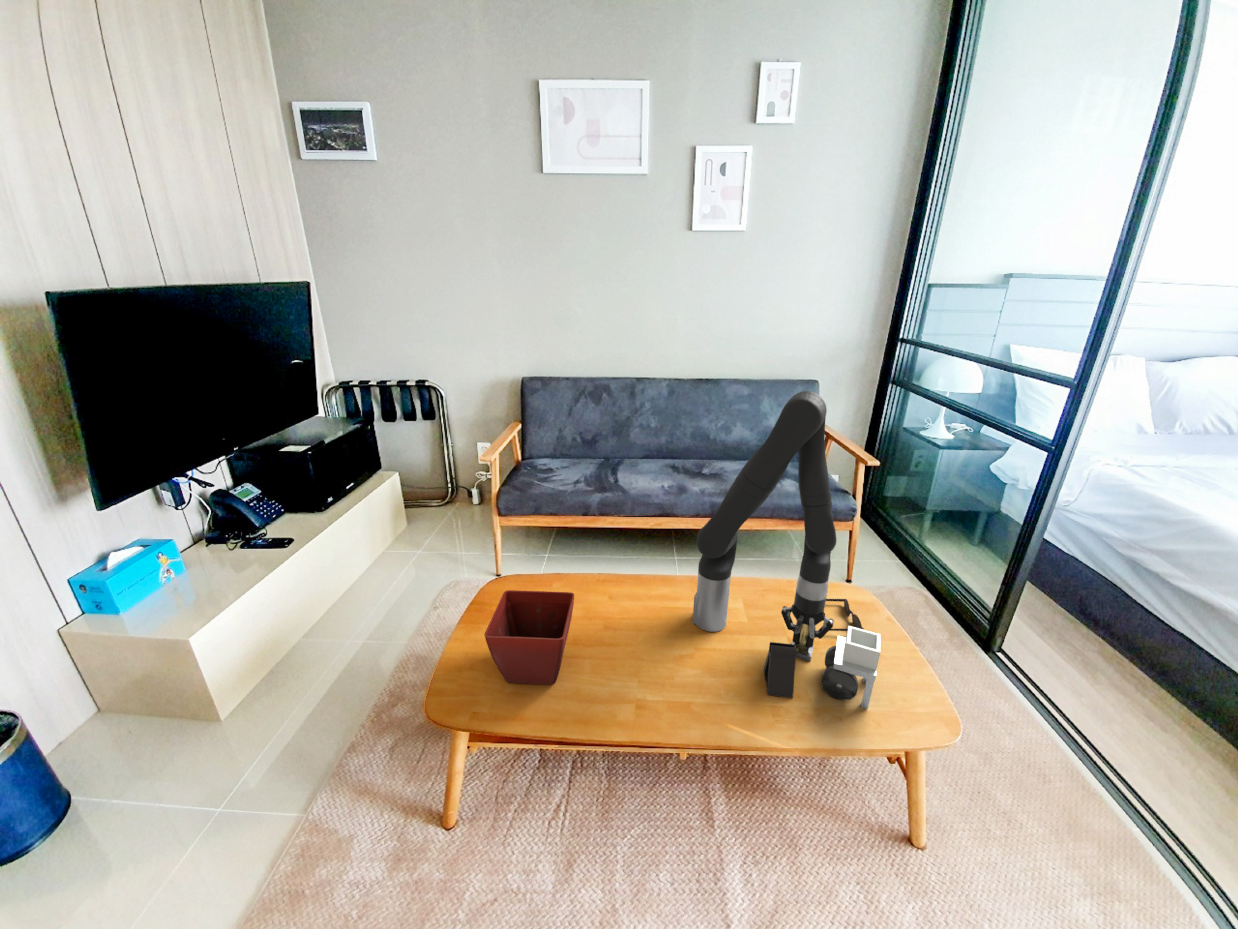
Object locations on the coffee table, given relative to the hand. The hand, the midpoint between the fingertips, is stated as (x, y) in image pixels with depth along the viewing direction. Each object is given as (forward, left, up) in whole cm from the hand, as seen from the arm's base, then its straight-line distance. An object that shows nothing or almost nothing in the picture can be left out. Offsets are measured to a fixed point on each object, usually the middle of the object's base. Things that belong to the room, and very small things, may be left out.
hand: (802, 644), depth 138 cm
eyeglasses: (+5, +18, -3) cm, 19 cm away
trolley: (+10, -8, -3) cm, 13 cm away
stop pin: (0, 0, -3) cm, 3 cm away
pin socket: (0, 0, -3) cm, 3 cm away
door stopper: (-4, -15, -3) cm, 15 cm away
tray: (+13, -8, +8) cm, 17 cm away
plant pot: (-62, -37, -3) cm, 72 cm away
